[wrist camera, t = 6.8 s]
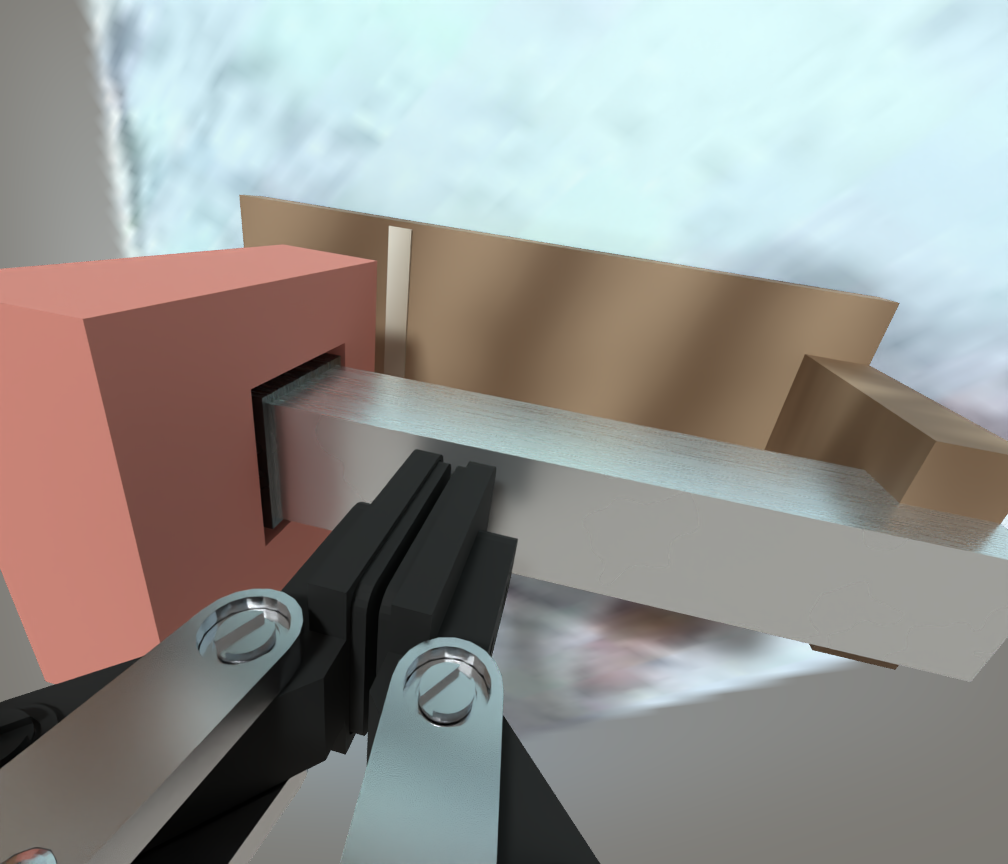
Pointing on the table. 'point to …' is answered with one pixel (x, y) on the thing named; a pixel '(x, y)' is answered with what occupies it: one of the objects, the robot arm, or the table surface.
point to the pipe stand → (654, 349)
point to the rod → (654, 515)
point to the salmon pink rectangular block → (153, 435)
